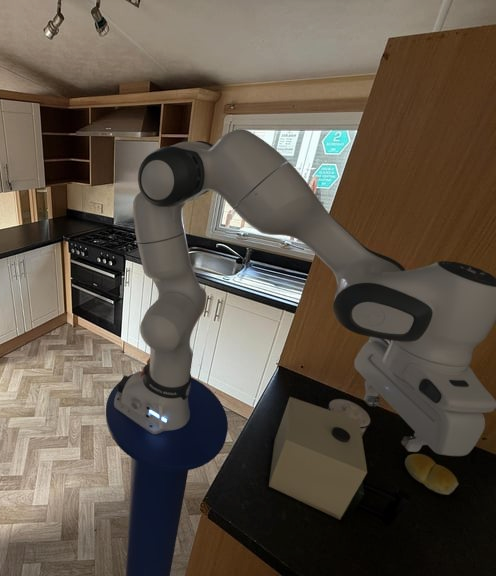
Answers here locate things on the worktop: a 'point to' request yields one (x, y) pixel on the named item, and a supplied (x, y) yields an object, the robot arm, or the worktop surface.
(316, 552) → the worktop surface
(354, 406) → the enamel mug with lid
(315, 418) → the cube with dark spot
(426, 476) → the bread roll
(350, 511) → the door with handle
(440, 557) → the worktop surface
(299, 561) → the worktop surface
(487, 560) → the worktop surface
